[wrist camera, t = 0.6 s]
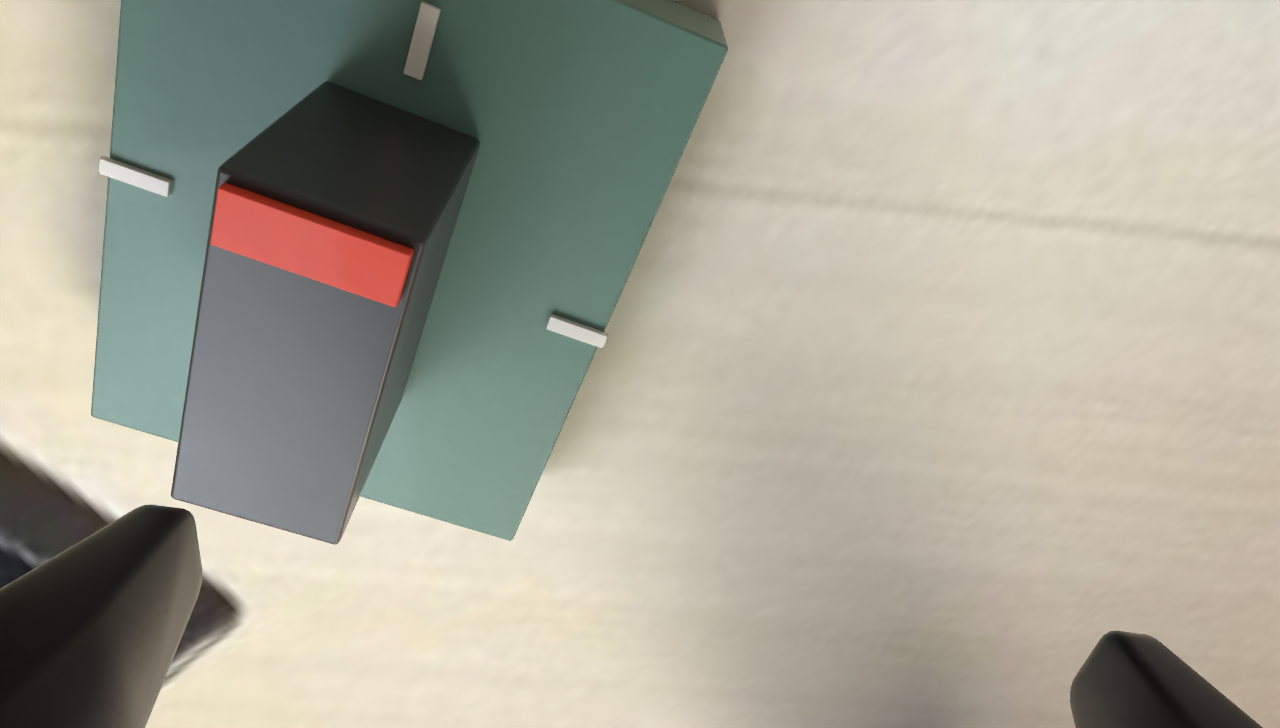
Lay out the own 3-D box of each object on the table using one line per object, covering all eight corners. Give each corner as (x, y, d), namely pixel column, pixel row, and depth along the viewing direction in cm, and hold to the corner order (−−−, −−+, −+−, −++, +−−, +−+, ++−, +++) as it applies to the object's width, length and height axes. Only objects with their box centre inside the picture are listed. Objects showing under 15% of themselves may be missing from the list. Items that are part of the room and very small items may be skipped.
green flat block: (526, 483, 26) (514, 547, 24) (135, 362, 24) (81, 419, 21) (725, 22, 19) (735, 51, 17) (194, -209, 17) (123, -211, 14)
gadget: (400, 400, 21) (333, 556, 17) (268, 358, 21) (162, 507, 16) (481, 139, 18) (423, 247, 13) (324, 78, 17) (208, 171, 13)
